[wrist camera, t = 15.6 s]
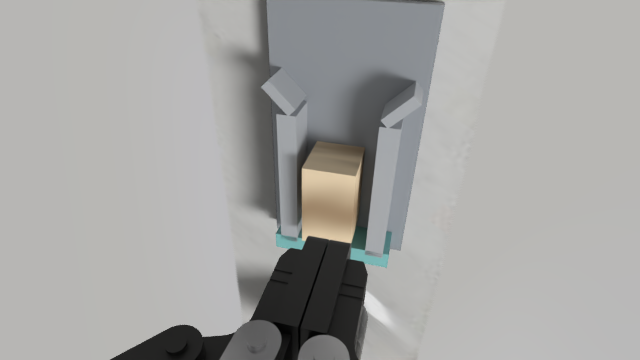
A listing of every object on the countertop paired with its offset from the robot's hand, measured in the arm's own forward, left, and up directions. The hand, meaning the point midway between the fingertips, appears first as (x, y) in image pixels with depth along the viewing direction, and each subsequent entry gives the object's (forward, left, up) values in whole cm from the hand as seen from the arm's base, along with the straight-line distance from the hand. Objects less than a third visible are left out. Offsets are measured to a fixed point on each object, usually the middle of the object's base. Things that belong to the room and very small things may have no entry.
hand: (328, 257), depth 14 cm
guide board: (+6, -1, -20) cm, 20 cm away
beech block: (+9, +1, -18) cm, 21 cm away
